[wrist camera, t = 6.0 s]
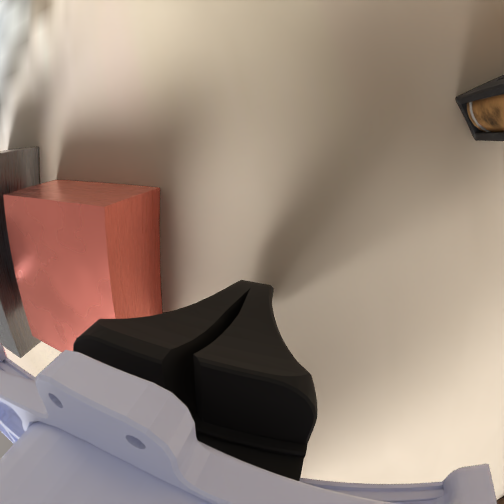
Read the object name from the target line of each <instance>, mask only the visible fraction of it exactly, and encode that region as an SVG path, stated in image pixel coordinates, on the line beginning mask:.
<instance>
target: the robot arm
mask: <svg viewBox="0 0 504 504" xmlns="http://www.w3.org/2000/svg"><path fill="white" fill-rule="evenodd" d="M273 289H274V288H273V287H272V286H271V285H266V284H261V283H255V282H250V281H244V280H240V281H238V282H236V283H235V284H233V285H231V286H229V287H227V288H226V289H224V290H222V291H220V292H218V293H216V294H214V295H212V296H210V297H208V298H206V299H204V300H202V301H199V302H197V303H195V304H192V305H190V306H187V307H184V308H181V309H178V310H174V311H170V312H166V313H161V314H157V315H152V316H146V317H137V318H126V319H99V320H97V321H96V322H95V323H94V324H93V325H92V326H90V327H89V328H88V329H87V330H86V331H85V332H83V333H82V334H81V335H80V336H79V337H78V338H77V339H76V340H75V342H74V344H73V351H69V350H64V351H63V352H62V353H61V354H60V355H59V356H58V357H57V358H55V359H54V360H53V361H52V362H51V363H50V364H49V365H48V366H47V367H46V368H44V369H43V370H42V371H41V372H40V373H39V374H38V375H37V376H36V378H35V377H34V376H32V375H31V374H29V373H28V372H27V371H25V370H24V369H22V368H21V367H19V366H18V365H16V364H15V363H14V362H12V361H11V360H10V359H8V358H7V356H6V353H5V350H4V348H3V346H2V344H1V343H0V431H1V432H2V433H3V434H4V435H5V436H6V437H7V438H8V439H9V440H10V441H11V442H12V443H14V444H13V446H12V447H11V448H10V449H9V450H8V451H7V452H6V453H5V454H4V456H3V457H2V458H1V459H0V504H497V501H496V496H495V491H494V486H493V481H492V477H491V472H490V468H489V464H482V465H475V466H467V467H462V468H458V469H456V470H454V471H453V472H451V473H450V474H449V475H448V476H447V477H446V478H445V480H444V481H442V482H431V483H415V484H362V483H345V482H333V481H323V480H314V479H307V478H300V476H301V470H302V465H303V459H304V457H305V454H306V450H307V443H308V441H309V438H310V436H311V433H312V431H313V428H314V426H315V423H316V419H317V400H316V393H315V388H314V384H313V380H312V376H311V374H310V373H309V372H308V371H307V370H306V369H305V368H304V367H302V366H301V365H300V364H299V363H298V362H297V361H296V359H295V358H294V357H293V355H292V354H291V352H290V351H289V349H288V348H287V346H286V345H285V343H284V341H283V339H282V337H281V335H280V332H279V330H278V327H277V325H276V321H275V318H274V314H273V308H272V297H273Z"/></svg>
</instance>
